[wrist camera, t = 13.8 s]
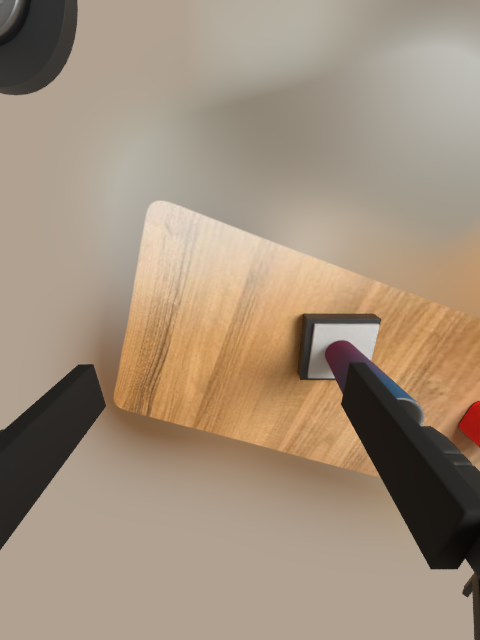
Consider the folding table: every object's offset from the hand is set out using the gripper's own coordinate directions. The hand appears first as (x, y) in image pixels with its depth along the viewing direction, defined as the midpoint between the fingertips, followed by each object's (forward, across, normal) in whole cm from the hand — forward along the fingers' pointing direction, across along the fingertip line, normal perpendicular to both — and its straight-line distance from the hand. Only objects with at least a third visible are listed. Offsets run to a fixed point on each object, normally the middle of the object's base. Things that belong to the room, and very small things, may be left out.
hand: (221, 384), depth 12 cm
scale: (+27, +18, -13) cm, 35 cm away
